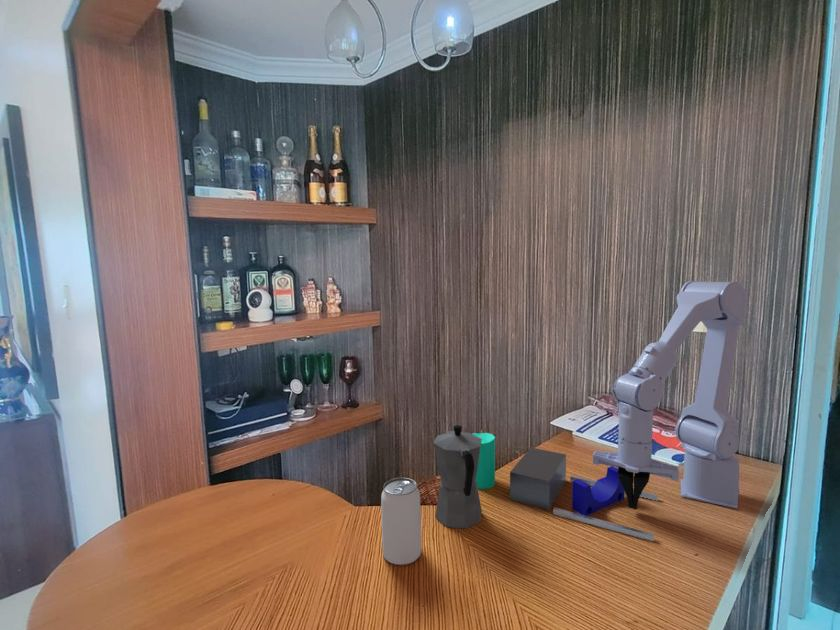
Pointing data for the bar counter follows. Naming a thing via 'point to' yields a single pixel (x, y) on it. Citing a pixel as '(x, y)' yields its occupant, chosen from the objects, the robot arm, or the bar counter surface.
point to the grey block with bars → (556, 488)
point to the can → (401, 521)
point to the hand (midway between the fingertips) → (632, 506)
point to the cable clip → (597, 493)
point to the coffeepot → (458, 478)
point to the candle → (486, 461)
